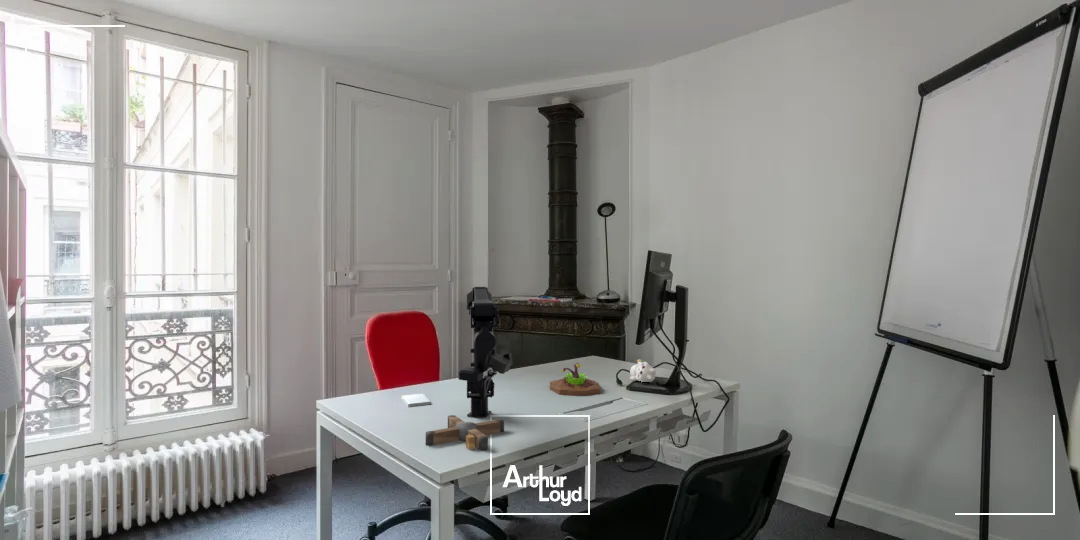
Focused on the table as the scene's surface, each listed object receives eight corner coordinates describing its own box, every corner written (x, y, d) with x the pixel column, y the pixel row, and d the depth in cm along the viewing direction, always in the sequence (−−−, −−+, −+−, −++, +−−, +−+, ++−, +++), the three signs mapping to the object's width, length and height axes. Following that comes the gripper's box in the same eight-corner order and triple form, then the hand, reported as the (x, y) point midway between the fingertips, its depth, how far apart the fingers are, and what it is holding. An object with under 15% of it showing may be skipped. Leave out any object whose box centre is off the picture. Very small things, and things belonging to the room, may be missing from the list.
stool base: (411, 432, 166) (411, 420, 166) (486, 419, 179) (486, 408, 179) (438, 455, 148) (437, 442, 148) (518, 439, 160) (518, 427, 160)
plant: (556, 398, 207) (557, 368, 207) (545, 385, 226) (545, 358, 226) (607, 395, 211) (608, 366, 211) (592, 383, 230) (592, 356, 230)
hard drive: (431, 401, 197) (423, 392, 208) (408, 404, 193) (401, 395, 205) (431, 406, 197) (423, 397, 208) (408, 408, 193) (401, 399, 205)
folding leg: (467, 440, 159) (467, 430, 158) (475, 439, 160) (475, 428, 160) (481, 450, 151) (481, 439, 151) (489, 448, 153) (489, 437, 152)
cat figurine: (630, 356, 238) (651, 358, 224) (644, 364, 240) (665, 367, 227) (621, 376, 235) (642, 380, 221) (635, 385, 238) (657, 388, 224)
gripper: (492, 354, 150) (492, 410, 151) (521, 341, 168) (521, 392, 169) (457, 350, 155) (457, 405, 156) (489, 338, 172) (489, 388, 173)
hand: (483, 397), depth 163 cm, fingers closed
